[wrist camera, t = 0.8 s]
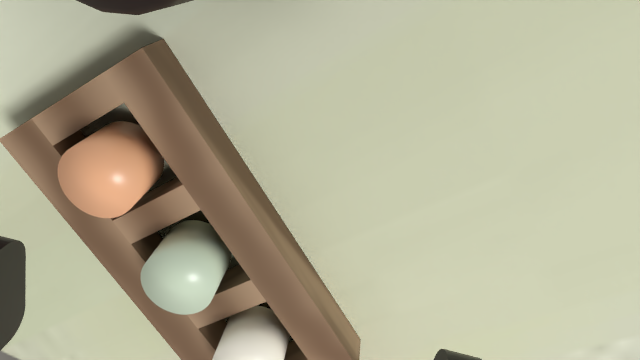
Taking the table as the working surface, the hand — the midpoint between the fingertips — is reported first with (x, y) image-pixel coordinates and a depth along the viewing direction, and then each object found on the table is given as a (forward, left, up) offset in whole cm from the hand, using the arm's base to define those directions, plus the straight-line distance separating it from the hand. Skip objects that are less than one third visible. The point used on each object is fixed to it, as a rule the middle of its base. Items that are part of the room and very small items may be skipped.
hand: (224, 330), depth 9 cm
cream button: (+14, +14, -21) cm, 29 cm away
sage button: (+14, +6, -21) cm, 27 cm away
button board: (+14, +6, -23) cm, 28 cm away
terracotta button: (+14, -2, -21) cm, 26 cm away
